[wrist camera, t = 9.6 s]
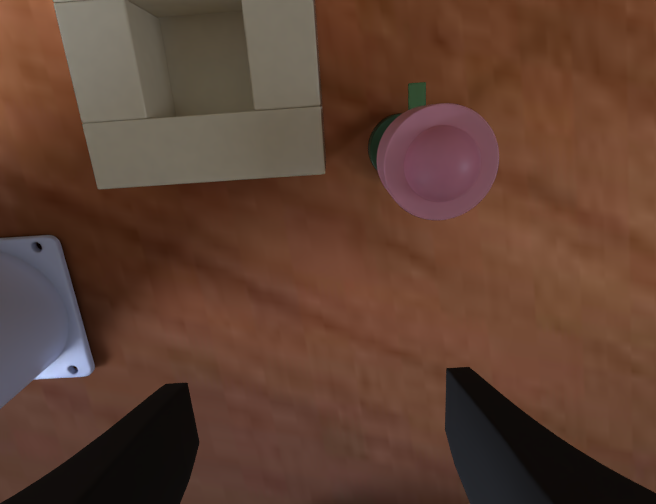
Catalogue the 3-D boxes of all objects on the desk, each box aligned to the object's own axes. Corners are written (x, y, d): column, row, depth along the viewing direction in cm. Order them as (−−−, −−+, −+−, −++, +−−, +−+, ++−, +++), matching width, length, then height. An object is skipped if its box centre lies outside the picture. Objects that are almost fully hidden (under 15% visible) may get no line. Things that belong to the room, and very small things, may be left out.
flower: (365, 185, 20) (389, 233, 12) (361, 92, 19) (386, 73, 10) (436, 180, 20) (511, 225, 12) (437, 87, 19) (522, 62, 10)
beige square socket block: (139, 176, 20) (97, 189, 16) (94, -42, 17) (31, -85, 14) (326, 163, 20) (325, 174, 16) (311, -60, 17) (305, -108, 13)
